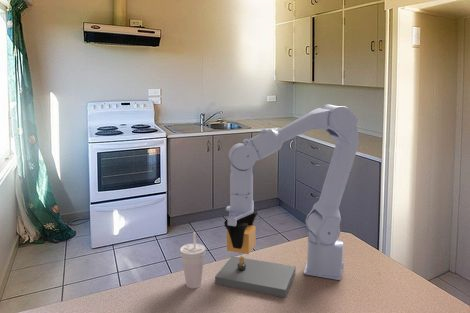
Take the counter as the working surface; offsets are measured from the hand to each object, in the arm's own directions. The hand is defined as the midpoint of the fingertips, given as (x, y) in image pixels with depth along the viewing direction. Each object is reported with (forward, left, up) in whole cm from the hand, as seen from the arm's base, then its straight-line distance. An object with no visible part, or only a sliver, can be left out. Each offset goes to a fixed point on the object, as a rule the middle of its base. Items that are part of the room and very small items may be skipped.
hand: (241, 242), depth 95 cm
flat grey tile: (-4, 0, -9) cm, 10 cm away
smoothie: (+10, +8, -10) cm, 16 cm away
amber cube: (0, 0, -1) cm, 1 cm away
